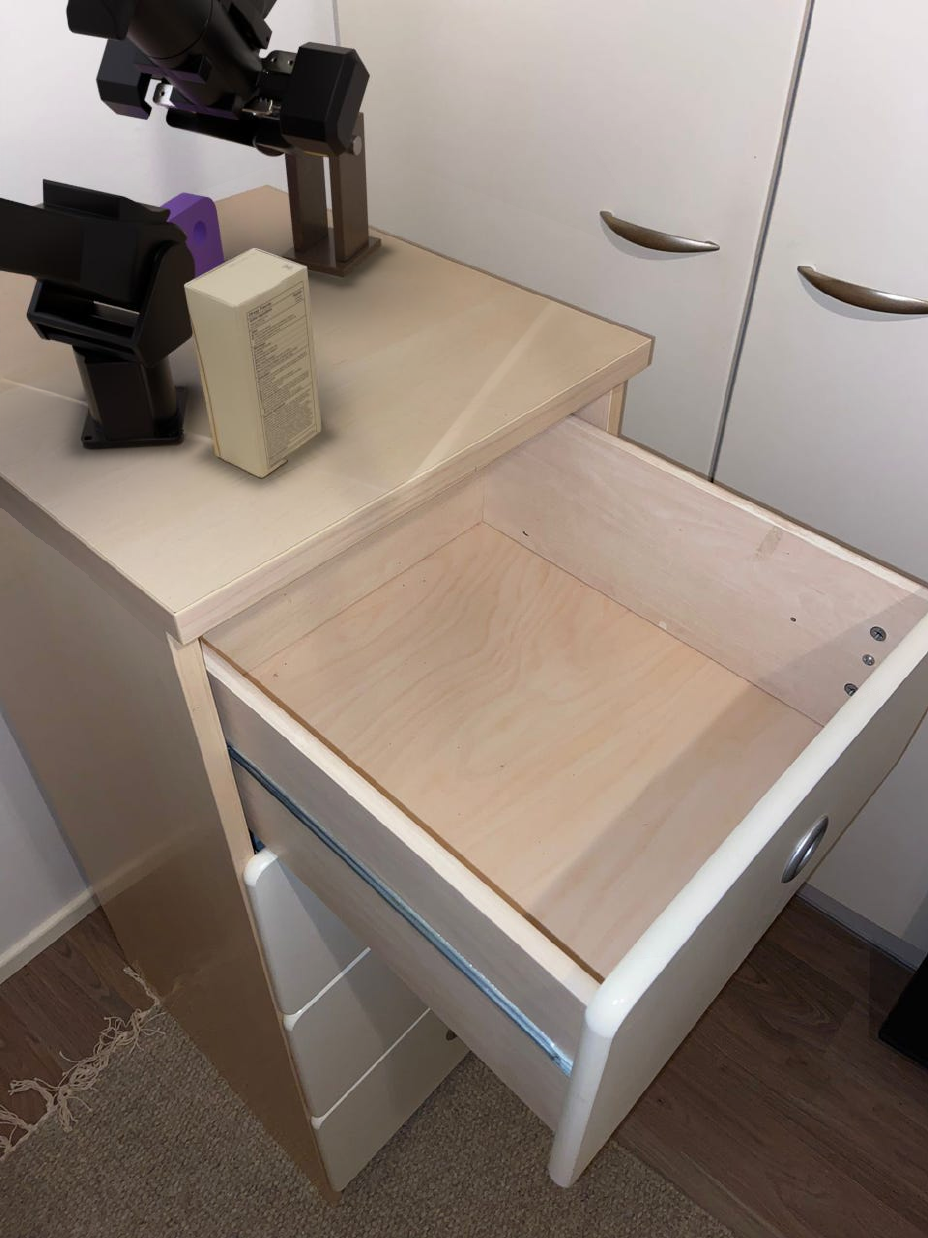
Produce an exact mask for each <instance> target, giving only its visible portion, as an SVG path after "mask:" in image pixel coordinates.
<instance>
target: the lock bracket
mask: <svg viewBox="0 0 928 1238" xmlns="http://www.w3.org/2000/svg"><path fill="white" fill-rule="evenodd" d="M365 137H366V136H365V113H364V112H362V111H359V114H358V117H357V120H356V124H355V127H354V130H353V133H352V137H351V140H350V143H349V147H348V150H347V151H346V152H344V153H343V154H341V155H340V156H338V157H334V156H329V155H328V157H329V158H328V157H327V158H328V171H329V172H328V173H329V185H330V201H331V215H332V216H331V217H332V227H330V226H329V220H328V219H329V218H328V206H327V205H328V204H327V191H326V190H327V189H326V178H325V177H326V176H325V174H326V173H325V162H324V157H322V156H317V155H312V154H307V153H305V154H304V157H298V156H294V155H291V154H288V153H285V154H284V161H285V171H286V172H285V174H286V183H287V192H288V194H287V195H288V204H289V212H290V213H289V214H290V225H291V235H292V245H293V246H292V247H291V248H290V249H288V250H287V251H286V252H285V253H283V254H282V255H281V256H280V257H282V258H284V259H287V260H290V261H292V262H295V263H298V264H300V265H303V266H307V270H308V271H313V272H318V273H322V274H327V275H330V276H331V275H332V276H336V277H338V278H339V277H340V278H345V277H346V276H348V275H349V274H350V273H351V272H352V271H353V270H355V269H356V268H357V267H358V266H359V265H360V264H362V263H363V262H364V261H365V260H367V259H368V258H369V257H370V256H371V255H373V253H374V252H376V251H377V250H378V249H379V248H380V247H381V246H382V238H381V237H376V236H372V235H370V234H369V210H368V208H369V207H368V189H367V188H368V185H367V184H368V183H367V162H366V161H367V160H366V158H367V157H366V138H365Z"/></svg>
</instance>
